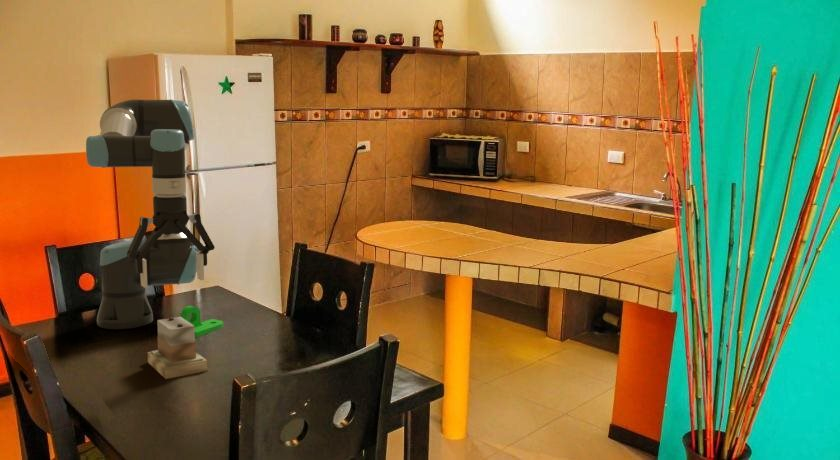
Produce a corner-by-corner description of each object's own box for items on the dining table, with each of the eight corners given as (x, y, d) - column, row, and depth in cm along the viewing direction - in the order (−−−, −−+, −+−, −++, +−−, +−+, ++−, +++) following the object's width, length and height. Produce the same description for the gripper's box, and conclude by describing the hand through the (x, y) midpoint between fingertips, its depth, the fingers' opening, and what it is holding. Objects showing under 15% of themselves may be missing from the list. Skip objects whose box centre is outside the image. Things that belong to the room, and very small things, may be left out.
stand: (147, 362, 184) (147, 350, 183) (187, 355, 190) (187, 343, 189) (165, 379, 173) (165, 366, 172) (207, 370, 179) (207, 358, 178)
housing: (171, 362, 175) (169, 327, 174) (158, 351, 183) (156, 318, 182) (196, 358, 179) (194, 324, 177) (182, 347, 187) (181, 314, 185)
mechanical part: (196, 339, 204) (195, 311, 202) (181, 336, 207) (180, 308, 205) (227, 328, 214) (227, 301, 213) (212, 325, 217) (211, 299, 216)
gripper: (118, 200, 165) (123, 292, 168) (226, 193, 179) (228, 279, 183) (110, 196, 171) (114, 286, 174) (214, 190, 185) (217, 273, 189)
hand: (173, 282), depth 179 cm, fingers open, 13 cm apart
